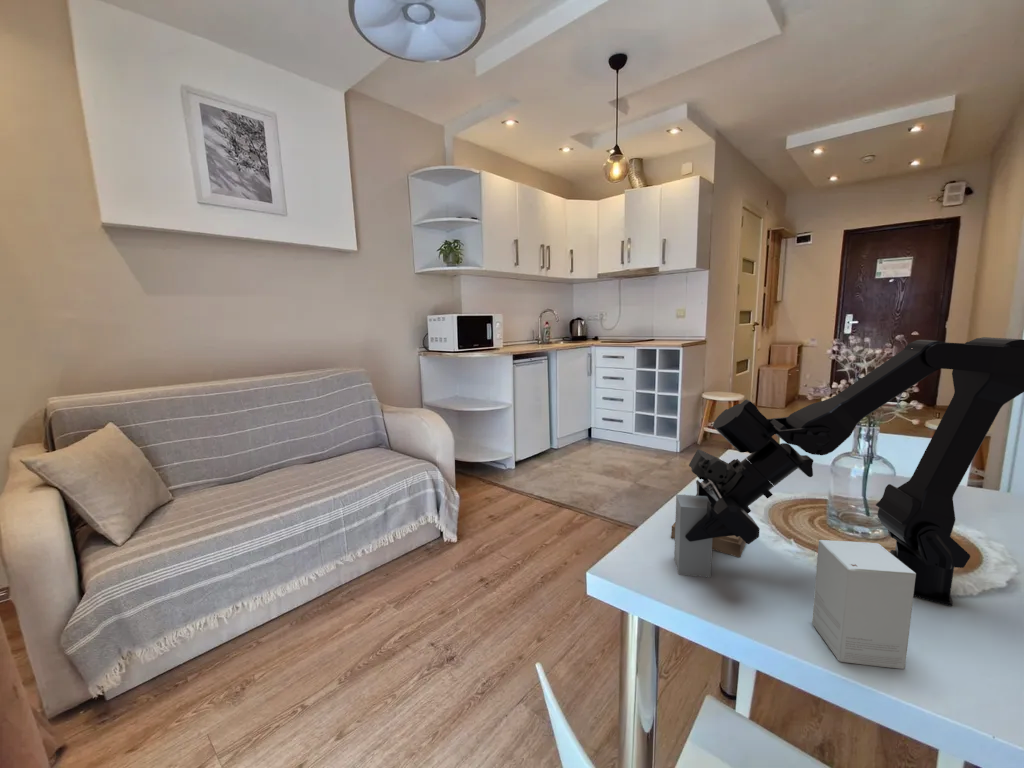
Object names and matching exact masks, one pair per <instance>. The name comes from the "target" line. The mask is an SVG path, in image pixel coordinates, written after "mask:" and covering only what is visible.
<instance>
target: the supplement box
mask: <svg viewBox="0 0 1024 768" xmlns="http://www.w3.org/2000/svg"><path fill="white" fill-rule="evenodd" d="M817 545H818V547H817V557H816V569H815V570H816V571H815V572H816V573H815V585H814V593H813V594H814V595H813V606H812V607H813V608H812V616H811V618H812V620H811V624H812V625H813V627H814V628H815V629H816V631H817V632H818V634H819V635H820V636H821V638H822V639H823V641H824V642H825V643H826V645H827V647H828V648H829V649H830V650H831V652H832V653H833V655H834V656H835V657H836V659H837V661H839V662H840V663H848V664H857V665H865V666H872V667H881V668H891V669H901V670H904V669H905V668H906V663H907V655H908V647H909V639H910V638H909V637H910V627H911V620H912V613H913V612H912V610H913V603H914V596H913V595H914V586H915V578H916V573H915V572H914V571H912V570H911V569H910V568H909V567H907V566H906V565H905V564H903V563H902V562H901V561H900V560H898V559H897V558H896V557H895V556H893V555H892V554H891V553H890V551H888V550H887V549H886V548H885V547H883V545H881V544H880V543H878V542H864V541H850V540H849V541H848V540H847V541H846V540H828V539H827V540H826V539H819V540H818V544H817Z"/></svg>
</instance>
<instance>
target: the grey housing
mask: <svg viewBox="0 0 1024 768" xmlns="http://www.w3.org/2000/svg"><path fill="white" fill-rule="evenodd" d="M708 501H709V499H708V497H707V496H696V495H691V494H676V496H675V522H674V523H675V539H674V552H673V553H674V557H673V560H674V561H675V567H676V570H677V574H678V575H681V576H692V577H700V578H701V577H702V578H703V577H704V578H711V576H712V575H711V574H712V554H713V550H712V538H709V539H703V540H697V541H692V542H690V541H688V540H687V539H686V537H685V536H686V534H687V533H688V532H689V531H690V530H691V529H692V528H693V527H694V526H695V525H696V524H697V523H698V522H699V521H700V520H701V519H702V518H703V517H704V516H705V515H706V513H707V502H708ZM709 502H710V501H709Z"/></svg>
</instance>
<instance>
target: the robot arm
mask: <svg viewBox="0 0 1024 768" xmlns="http://www.w3.org/2000/svg"><path fill="white" fill-rule="evenodd" d="M911 348H913V349H911ZM942 369H945V370H952V371H951V375H952V376H951V377H952V384H953V390H954V393H953V396H952V398H951V400H950V401H949V404H948V406H947V408H946V409H945V412H944V414H943V415H942V417H941V419H940V421H939V424H938V425H937V427H936V429H935V431H934V433H933V435H932V437H931V439H930V441H929V443H928V445H927V446H926V448H925V450H924V453H923V454H922V457H921V458H920V459H919V462H918V464H917V466H916V467H915V470H914V472H913V473H912V476H911V478H910V479H909V480H908V481H906V482H905V483H903V484H901V485H900V486H898V487H896V486H894V484H893V485H892V484H890V483H889V484H887V485H886V486H885V488H884V491H883V495H882V497H881V498H880V499H879V501H877V503H875V506H876V507H877V508H878V510H877V518H878V520H879V522H880V524H881V526H883V527H884V528H885V529H886V530H887V531H888V535H889V537H890V538H892V539H894V540H895V541H896V542H895V549H891V550H889V552H890V553H891V554H892V555H893V556H895V557H896V558H897V559H898V560H900V561H901V562H902V563H903V564H905V565H906V566H907V567H909V568H910V569H911V570H912V571H914V572H915V573H916V578H915V586H914V595H913V597H917V598H920V599H924V600H927V601H931V602H935V603H936V604H937V603H938V604H941V605H945V606H949V607H952V606H953V603H954V602H953V598H952V596H951V593H952V592H951V591H952V585H953V577H954V571H955V570H954V569H955V568H958V569H959V568H960V569H963V568H965V567H966V565H967V564H968V562H969V560H970V559H971V554H970V553H969V552H967V551H966V550H965V549H964V548H963V547H962V546H961V545H960V544H959V543H958V542H957V541H955V539H953V538H952V532H953V529H954V526H955V523H956V513H955V505H954V496H955V494H956V492H957V490H958V488H959V486H960V484H961V482H962V480H963V479H964V477H965V476H966V473H967V472H968V469H969V468H970V466H971V463H972V462H973V461H974V458H975V456H976V455H977V453H978V451H979V449H980V447H981V445H982V444H983V442H984V440H985V438H986V436H987V434H988V433H989V431H990V429H991V427H992V425H993V423H994V422H995V420H996V418H997V416H998V414H999V412H1000V411H1001V409H1002V407H1003V406H1004V405H1006V404H1007V403H1009V402H1010V401H1011V400H1014V399H1015V398H1017V397H1018V396H1020V395H1021V394H1023V393H1024V339H1023V338H1022V339H1020V338H1003V337H986V336H983V337H977V338H974V339H972V340H970V341H967V342H966V341H965V342H964V343H963V342H961V343H959V342H946V341H940V340H932V339H930V340H929V339H916V340H913V341H912V342H909V343H908V344H907V345H906V346H905V347H904V348H903V350H901V351H899V352H898V353H896V354H895V355H894V356H892V357H891V358H889V359H888V360H886V361H885V362H883V363H881V364H880V365H879V366H877V367H876V368H874V369H873V370H871V371H870V372H869V373H867V374H865V375H864V376H862V377H861V378H860V379H858V380H857V381H855V382H854V383H852V384H851V385H849V386H848V387H847V388H845V389H844V390H842V391H841V392H839V393H838V394H836V395H834V396H831V397H829V398H826V399H824V400H820V401H818V402H813V403H811V404H808V405H806V406H804V407H802V408H800V409H798V410H796V411H794V412H792V413H790V414H789V415H788V416H784V417H773V418H767V417H766V416H765V415H764V414H763V413H762V412H760V410H759V409H758V407H757V406H756V405H755V404H754V403H753V402H752V401H751V400H749V399H747V398H746V399H744V400H743V401H742V402H741V403H737V404H735V405H733V406H731V407H729V408H728V409H725V410H723V411H722V412H721V413H720V414H719V415H718V416H717V417H716V419H715V420H714V421H713V424H712V428H714V429H715V430H716V431H717V432H718V433H719V434H720V435H721V436H722V437H723V438H724V439H725V440H726V441H727V442H728V443H729V444H730V445H731V446H732V447H734V449H735V450H736V451H737V452H739V453H743V454H744V453H749V455H748V456H746V458H744V459H743V460H742V461H740V460H739V459H738V458H735V459H732V460H731V461H730V462H729V463H728V462H726V461H725V460H722V459H720V458H719V457H716V456H714V455H712V454H710V453H708V452H705V451H704V450H702V449H697V450H696V452H695V453H694V455H693V457H692V458H691V460H690V462H689V464H688V466H689V467H690V469H691V472H692V474H694V475H696V477H697V478H698V479H699V480H702V481H701V482H700V481H699V480H698V479H697V480H696V481H695V482H696V494H695V496H707V497H708V499H709V501H710V502H709V501H708V502H707V513H706V515H705V516H704V517H703V518H702V519H701V520H700V521H699V522H698V523H697V524H696V525H695V526H694V527H693V528H692V529H691V530H690V531H689V532H688V533H687V534H686V536H685V537H686V539H687V540H688V541H690V542H692V541H697V540H703V539H709V538H715V537H724V536H734V535H735V536H736V537H739V536H740V537H741V538H742V539H743V540H744V541H745V542H746V544H747V545H750V544H751V543H753V542H754V541H755V540H757V539H758V538H759V537H760V529H761V528H760V527H759V526H758V524H757V523H756V522H755V520H754V519H753V518H752V516H751V515H750V512H752V510H751V508H750V507H749V506H751V505H752V504H753V503H754V502H756V501H758V499H760V498H761V497H763V496H764V498H766V499H769V498H771V497H772V496H773V493H772V492H771V490H772V489H773V488H774V487H776V486H777V485H778V484H779V483H780V482H782V481H783V480H785V479H786V478H787V477H788V476H790V475H791V474H792V473H794V472H795V471H796V470H800V471H801V472H802V473H804V475H806V476H807V477H808V478H812V477H813V476H814V471H813V463H814V459H813V458H811V457H810V456H809V455H807V454H806V455H802V454H800V453H799V452H798V451H797V450H796V449H795V448H794V447H793V446H797V447H798V448H799V449H801V450H803V451H804V452H805V453H808V454H810V455H813V456H815V455H816V456H826V455H829V454H831V453H833V451H835V450H836V449H838V448H839V447H840V446H841V445H842V444H843V443H844V442H846V441H847V439H849V438H850V436H851V435H852V434H853V433H854V430H855V429H856V427H857V425H858V424H859V423H860V422H861V421H862V420H863V419H864V418H865V417H867V416H869V415H870V414H872V413H874V412H875V411H877V410H878V409H879V408H881V407H882V406H884V405H886V404H887V403H889V402H890V401H893V400H894V399H895V398H897V397H898V396H900V395H901V394H904V393H905V392H906V391H907V390H909V389H910V388H912V387H914V386H915V385H917V384H918V383H920V382H921V381H923V380H924V379H926V378H927V377H929V376H930V375H932V374H934V373H935V372H937V371H939V370H942ZM774 436H776V437H778V438H779V439H780V440H782V441H784V442H783V443H779V442H777V440H775V438H774ZM792 445H793V446H792Z"/></svg>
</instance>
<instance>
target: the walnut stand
mask: <svg viewBox="0 0 1024 768" xmlns="http://www.w3.org/2000/svg"><path fill="white" fill-rule="evenodd" d="M670 538H671V539H674V540H675V522H673V524H672V525H671V537H670ZM746 544H747V543H746V542H745V541H744V540H743V539H742V538H741V537H740V536H739V537H736V536H735V535H734V536H724V537H715V538H712V551H713V550H714V551H716V552H720V553H723V554H727V555H730V556H734V557H738V558H740V557H741V555H742V553H743V551H744V549H745V546H746Z"/></svg>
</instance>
